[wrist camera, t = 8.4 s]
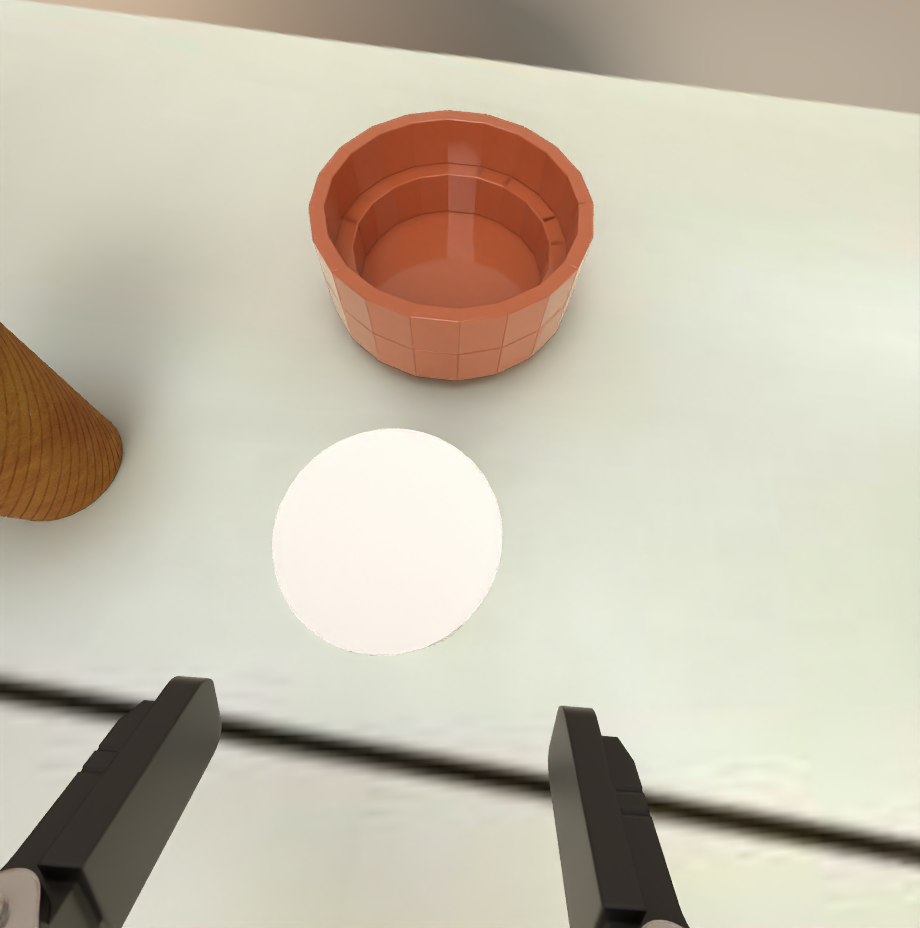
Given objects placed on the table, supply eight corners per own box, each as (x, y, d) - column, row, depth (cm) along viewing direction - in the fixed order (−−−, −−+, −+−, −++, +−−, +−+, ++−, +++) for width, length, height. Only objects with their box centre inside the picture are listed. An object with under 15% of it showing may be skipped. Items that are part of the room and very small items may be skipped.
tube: (476, 567, 23) (523, 457, 9) (455, 656, 22) (472, 685, 8) (394, 545, 24) (320, 406, 10) (368, 632, 22) (233, 619, 8)
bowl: (458, 434, 26) (462, 377, 20) (287, 289, 29) (249, 206, 23) (610, 284, 30) (648, 202, 24) (445, 171, 33) (445, 76, 28)
